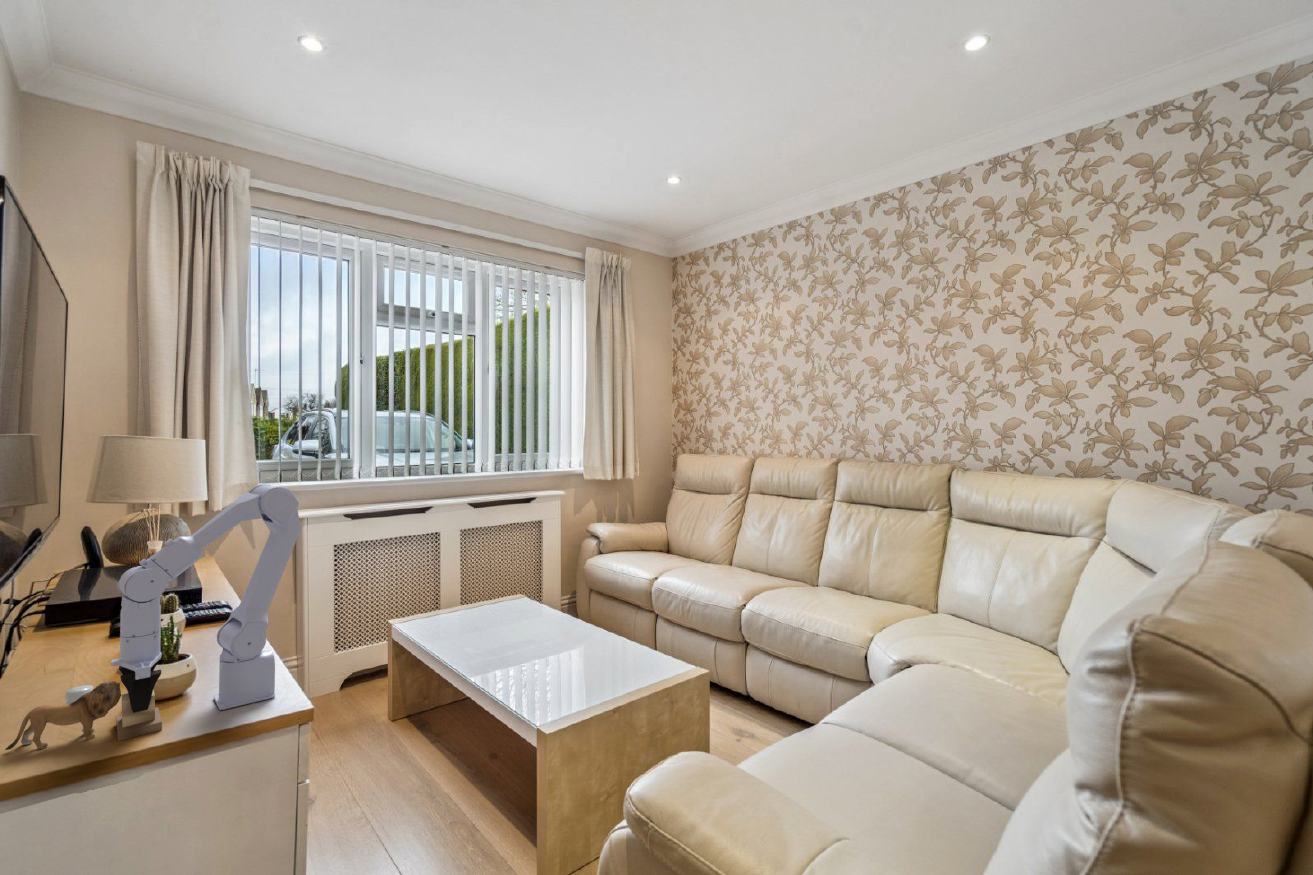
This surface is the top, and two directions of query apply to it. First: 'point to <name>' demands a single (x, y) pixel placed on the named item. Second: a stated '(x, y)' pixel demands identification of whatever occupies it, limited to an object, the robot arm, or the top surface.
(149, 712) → the oak block
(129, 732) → the plinth
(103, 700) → the lion figurine
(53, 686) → the top surface
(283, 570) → the robot arm
